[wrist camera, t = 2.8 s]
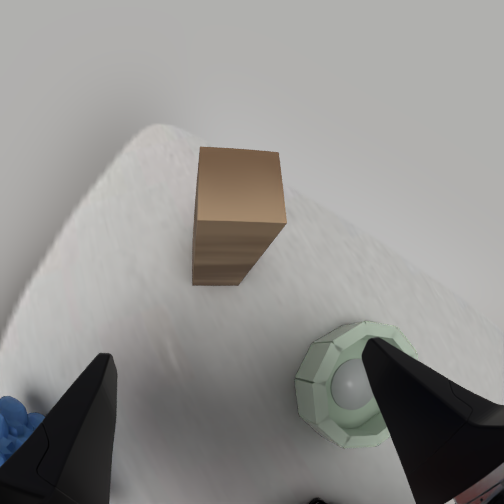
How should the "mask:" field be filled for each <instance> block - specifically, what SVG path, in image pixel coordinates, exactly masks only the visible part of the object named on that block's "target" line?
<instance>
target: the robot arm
mask: <svg viewBox="0 0 504 504" xmlns="http://www.w3.org/2000/svg"><path fill="white" fill-rule="evenodd" d="M361 357H362V362H363V365H364V368H365V371H366V374H367V377H368V381H369V384H370V387H371V390H372V393H373V395H374V398H375V400H376V402H377V405H378V407H379V409H380V412H381V414H382V416H383V419H384V421H385V424H386V426H387V428H388V431H389V433H390V436H391V438H392V441H393V443H394V446H395V448H396V451H397V453H398V456H399V459H400V461H401V464H402V466H403V469H404V472H405V474H406V477H407V480H408V483H409V485H410V488H411V491H412V494H413V497H414V499H415V502H416V504H444V503H446V502H448V501H450V500H451V499H454V501H455V504H504V405H499V404H496V403H493V402H491V401H489V400H487V399H485V398H483V397H481V396H479V395H477V394H474V393H473V392H471V391H469V390H467V389H465V388H463V387H461V386H459V385H458V384H456V383H454V382H453V381H451V380H448V378H446V377H444V376H443V375H441V374H439V373H438V372H436V371H434V370H433V369H431V368H429V367H428V366H426V365H424V364H423V363H421V362H419V361H418V360H416V359H414V358H413V357H411V356H409V355H408V354H406V353H405V352H403V351H401V350H400V349H398V348H396V347H395V346H393V345H391V344H390V343H388V342H386V341H385V340H383V339H381V338H380V337H374V338H370V339H368V341H367V343H366V345H365V347H364V350H363V352H362V356H361ZM116 408H117V369H116V366H115V363H114V359H113V356H112V355H111V354H110V353H99V354H98V355H97V356H96V357H95V358H94V360H93V361H92V362H91V363H90V364H89V365H88V366H87V368H86V369H85V370H84V371H83V372H82V373H81V375H80V376H79V377H78V378H77V379H76V381H75V382H74V383H73V384H72V385H71V386H70V388H69V389H68V390H67V391H66V392H65V394H64V395H63V396H62V397H61V398H60V400H59V401H58V402H57V403H56V405H55V406H54V407H53V408H52V409H51V411H50V412H49V413H48V414H47V416H46V417H45V418H44V419H43V421H42V422H43V423H42V422H41V423H40V424H39V425H38V427H37V428H36V429H35V430H34V432H33V433H32V434H31V435H30V436H29V438H28V439H27V440H26V441H25V442H24V443H23V444H22V445H21V446H20V447H19V448H18V450H17V451H16V452H15V453H14V454H13V455H12V456H11V457H10V458H9V459H8V460H7V461H6V462H5V463H4V464H3V465H2V466H1V467H0V504H109V497H110V477H111V463H112V451H113V441H114V432H115V424H116ZM317 502H318V504H328V503H326V502H324V501H323V500H321V499H320V498H315V499H313V500H312V501H311V502H310V503H309V504H316V503H317Z"/></svg>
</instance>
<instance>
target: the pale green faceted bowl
mask: <svg viewBox="0 0 504 504" xmlns="http://www.w3.org/2000/svg"><path fill="white" fill-rule="evenodd" d="M374 337H380V338H381V339H383V340H385V341H386V342H388V343H390V344H391V345H393V346H395V347H396V348H398V349H400V350H401V351H403V352H405V353H406V354H408V355H409V356H411V357H413V358H414V359H416V360H418V354H417V353H416V352H417V351H416V350H415V348H414V347H413V346H412V345H411V343H410V342H409V341H408V339H407V338H406V337H405V336H404V334H403V333H402V332H401V331H400V329H399V328H398V327H396V326H392V325H386V324H380V323H375V322H369V321H364V322H359V323H354V324H349V325H344V326H341V327H339V328H337V329H336V330H334V331H332V332H331V333H329V334H327V335H325V336H324V337H322V338H320V339H318V340H316V341H315V342H313V343H314V344H311V346H310V348H309V350H308V352H307V354H306V356H305V358H304V360H303V362H302V364H301V366H300V368H299V370H298V372H297V374H296V376H295V378H297V379H294V380H295V388H296V397H297V405H298V414H299V415H300V417H301V418H302V419H303V420H304V421H305V422H306V423H307V424H309V425H310V426H311V427H312V428H313V429H314V430H315V431H316V432H317V433H318V434H320V435H321V436H322V437H323V438H325V439H327V440H329V441H330V442H332V443H334V444H336V445H338V446H339V447H341V448H344V449H346V448H364V447H376V446H377V445H378V446H379V445H380V444H381V443H382V442H384V441H385V440H386V439H387V438H389V437H390V433H389V431H388V428H387V426H386V424H385V421H384V419H383V416H382V414H381V412H380V409H379V407H378V405H377V402H376V400H375V398H374V395H373V393H372V390H371V387H370V384H369V381H368V377H367V374H366V371H365V368H364V365H363V362H362V357H361V356H362V352H363V350H364V347H365V345H366V343H367V341H368V339H370V338H374Z"/></svg>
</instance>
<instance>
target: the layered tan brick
mask: <svg viewBox="0 0 504 504" xmlns="http://www.w3.org/2000/svg"><path fill="white" fill-rule="evenodd" d="M286 224H287V220H286V211H285V202H284V193H283V184H282V176H281V167H280V160H279V153H278V152H269V151H259V150H258V151H257V150H246V149H233V148H216V147H200V153H199V163H198V174H197V186H196V198H195V212H194V227H193V253H192V285H201V286H230V285H239V284H240V282H241V281H242V280H243V279H244V277H245V276H246V275H247V273H248V272H249V271H250V270H251V268H252V267H253V266H254V265H255V263H256V262H257V261H258V259H259V258H260V257H261V256H262V254H263V253H264V252H265V251H266V249H267V248H268V247H269V245H270V244H271V243H272V242H273V240H274V239H275V238H276V236H277V235H278V234H279V233H280V231H281V230H282V229H283V227H284V226H285V225H286Z"/></svg>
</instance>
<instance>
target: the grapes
mask: <svg viewBox="0 0 504 504" xmlns="http://www.w3.org/2000/svg"><path fill="white" fill-rule="evenodd" d="M44 418H45V416H43V415H41V414H39V413H36V412H35V413H29V414H27V411H26V408H25V407H24V405H23V404H22V403H21V402H20V401H18V400H17V399H15V398H13V397H11V396H3V397H2V398H1V399H0V467H1V466H2V465H3V464H4V463H5V462H6V461H7V460H8V459H9V458H10V457H11V456H12V455H13V454H14V453H15V452H16V451H17V450H18V448H19V447H20V446H21V445H22V444H23V443H24V442H25V441H26V440H27V439H28V438H29V436H30V435H31V434H32V433H33V432H34V430H35V429H36V428H37V427H38V425H39V424H40V423H41V422H42V421H43V419H44ZM42 423H43V422H42Z"/></svg>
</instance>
